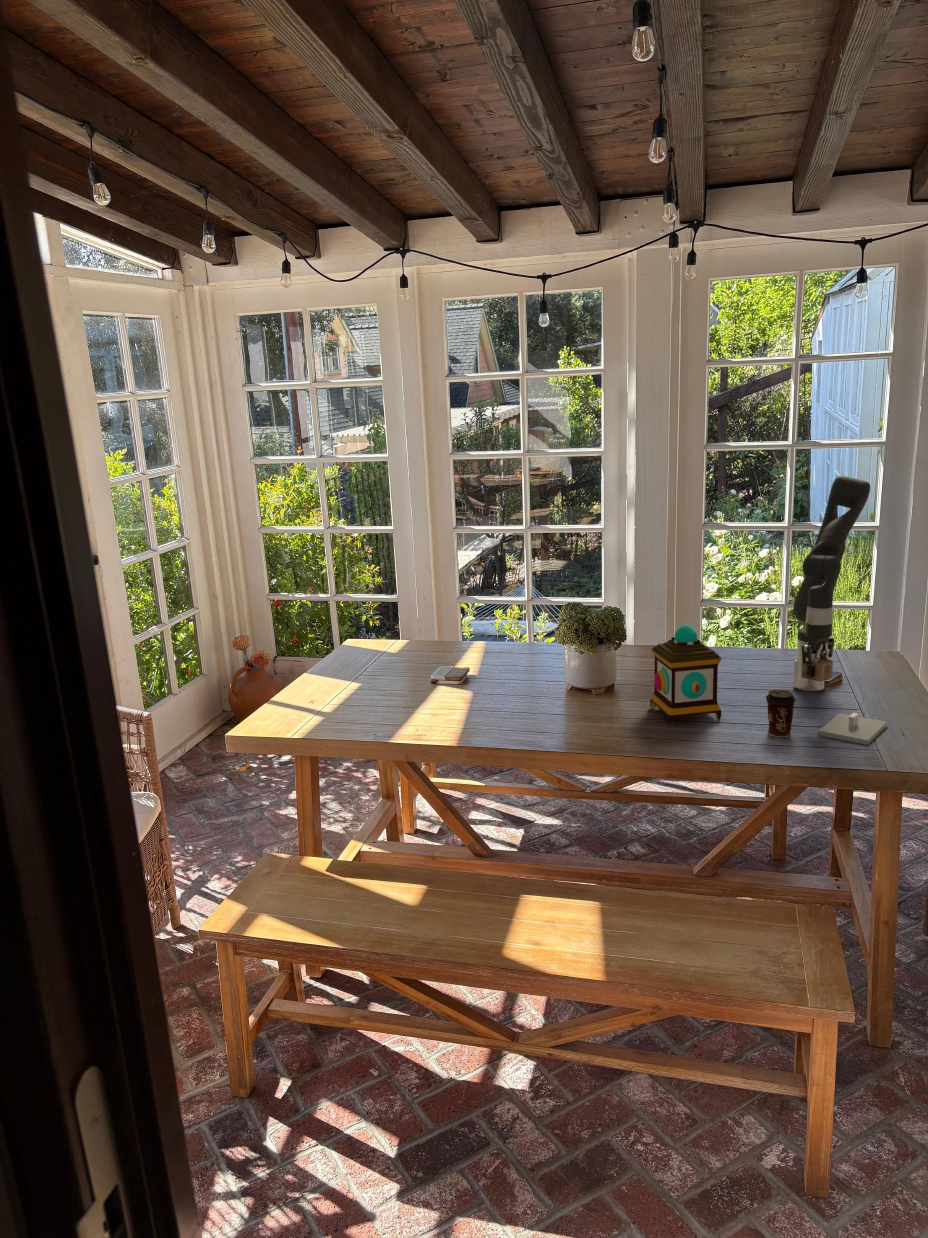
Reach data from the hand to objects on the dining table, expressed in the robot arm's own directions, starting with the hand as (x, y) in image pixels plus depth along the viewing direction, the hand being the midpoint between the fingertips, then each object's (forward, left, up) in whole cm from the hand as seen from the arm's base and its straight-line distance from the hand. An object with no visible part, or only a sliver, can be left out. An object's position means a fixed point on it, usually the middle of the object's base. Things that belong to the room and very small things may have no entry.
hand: (816, 674), depth 276 cm
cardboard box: (0, 0, -1) cm, 1 cm away
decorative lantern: (-36, -14, -16) cm, 42 cm away
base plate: (+12, 0, -16) cm, 20 cm away
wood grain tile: (+12, 0, -14) cm, 18 cm away
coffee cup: (-5, -14, -16) cm, 22 cm away
